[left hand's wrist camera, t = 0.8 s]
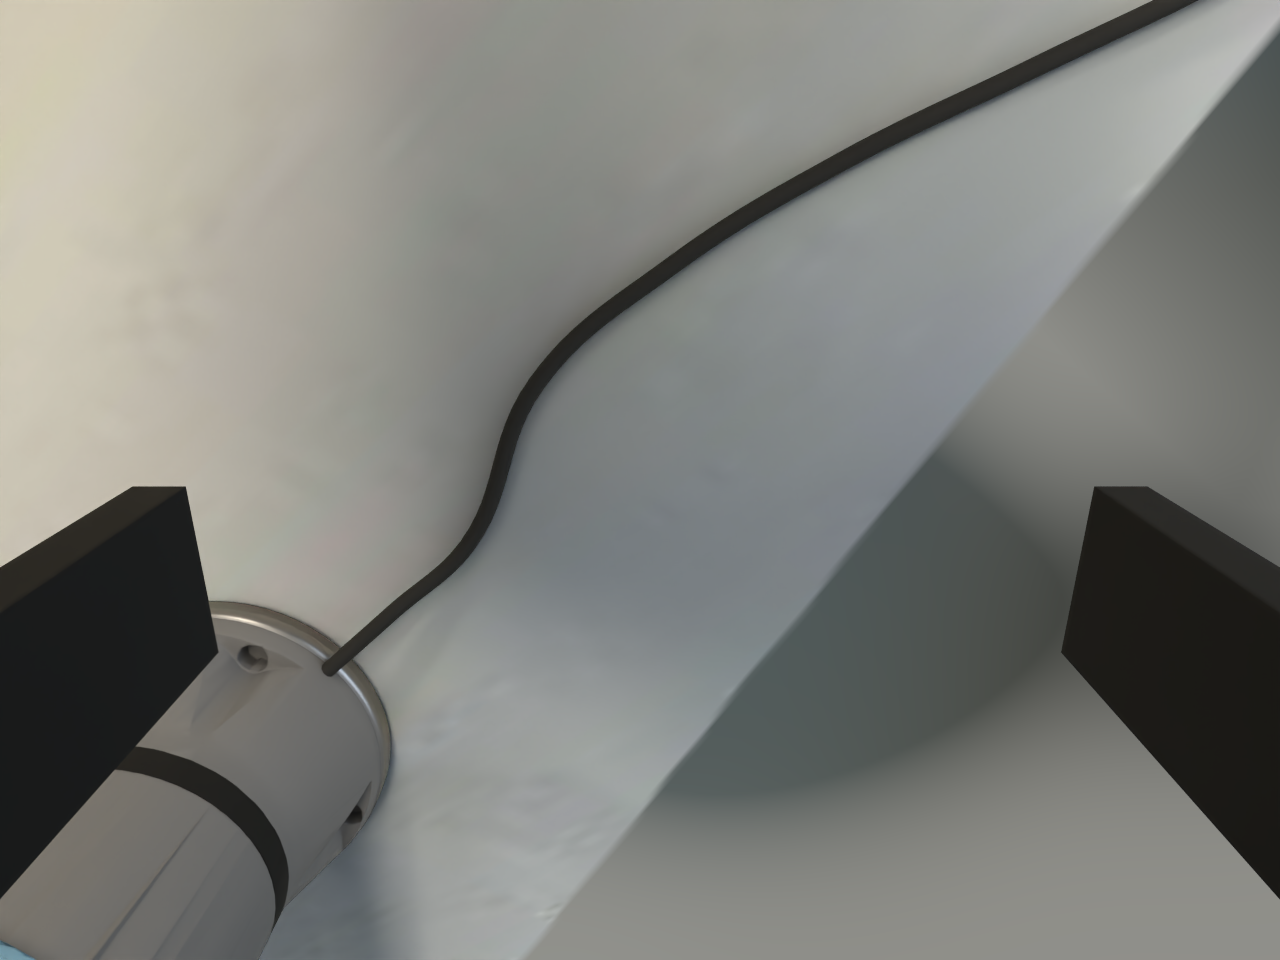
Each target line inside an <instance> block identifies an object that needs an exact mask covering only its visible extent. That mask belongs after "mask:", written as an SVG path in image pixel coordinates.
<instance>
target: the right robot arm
mask: <svg viewBox="0 0 1280 960" xmlns="http://www.w3.org/2000/svg"><path fill="white" fill-rule="evenodd" d="M1196 1H1198V0H1153V1H1151V2H1149V3H1147V4H1145V5H1142V6H1140V7H1138V8H1136V9H1134V10H1132V11H1130V12H1128V13H1126V14H1123V15H1121V16H1119V17H1117V18H1115V19H1113V20H1111V21H1108V22H1106V23H1104V24H1102V25H1100V26H1098V27H1096V28H1094V29H1091V30H1089V31H1087V32H1085V33H1083V34H1081V35H1079V36H1077V37H1074V38H1072V39H1070V40H1068V41H1066V42H1064V43H1062V44H1060V45H1058V46H1056V47H1053V48H1051V49H1049V50H1047V51H1045V52H1043V53H1041V54H1039V55H1037V56H1035V57H1033V58H1031V59H1029V60H1027V61H1025V62H1023V63H1021V64H1019V65H1016V66H1014V67H1012V68H1010V69H1008V70H1006V71H1004V72H1002V73H1000V74H998V75H996V76H993V77H991V78H989V79H987V80H985V81H983V82H981V83H979V84H976V85H974V86H972V87H970V88H968V89H966V90H964V91H961V92H959V93H957V94H955V95H953V96H951V97H948V98H946V99H944V100H942V101H940V102H938V103H936V104H934V105H931V106H929V107H927V108H925V109H923V110H921V111H919V112H917V113H915V114H913V115H911V116H909V117H906V118H904V119H902V120H900V121H898V122H896V123H894V124H892V125H890V126H888V127H886V128H884V129H882V130H880V131H878V132H877V133H875V134H873V135H871V136H869V137H867V138H865V139H863V140H861V141H859V142H857V143H856V144H854V145H852V146H850V147H848V148H846V149H844V150H843V151H841V152H839V153H837V154H835V155H833V156H832V157H830V158H828V159H826V160H824V161H823V162H821V163H819V164H817V165H815V166H814V167H812V168H810V169H808V170H806V171H804V172H803V173H801V174H799V175H797V176H795V177H794V178H792V179H790V180H788V181H787V182H785V183H783V184H781V185H779V186H778V187H776V188H774V189H772V190H771V191H769V192H767V193H765V194H764V195H762V196H760V197H759V198H757V199H755V200H754V201H752V202H750V203H749V204H747V205H745V206H744V207H742V208H740V209H739V210H737V211H736V212H734V213H732V214H731V215H729V216H728V217H726V218H724V219H723V220H721V221H720V222H718V223H717V224H715V225H714V226H712V227H711V228H709V229H708V230H706V231H705V232H703V233H702V234H700V235H699V236H697V237H696V238H695V239H693V240H692V241H690V242H689V243H687V244H686V245H685V246H683V247H682V248H680V249H679V250H678V251H676V252H675V253H673V254H672V255H671V256H669V257H668V258H667V259H665V260H664V261H662V262H661V263H660V264H658V265H657V266H656V267H654V268H653V269H651V270H650V271H649V272H647V273H646V274H644V275H643V276H642V277H640V278H639V279H637V280H636V281H635V282H633V283H632V284H630V285H629V286H628V287H626V288H625V289H623V290H622V291H621V292H619V293H618V294H616V295H615V296H614V297H612V298H611V299H610V300H608V301H607V302H606V303H604V304H603V305H602V306H600V307H599V308H598V309H597V310H595V311H594V312H593V313H592V314H590V315H589V316H588V317H587V318H586V319H584V320H583V321H582V322H581V323H580V324H579V325H577V326H576V327H575V328H574V329H573V330H572V331H571V332H570V333H569V334H568V335H567V336H566V337H565V338H564V339H563V340H562V341H561V342H560V343H559V344H558V345H557V346H556V347H555V348H554V349H553V350H552V351H551V352H550V354H549V355H548V356H547V357H546V358H545V360H544V361H543V362H542V363H541V364H540V366H539V367H538V368H537V370H536V371H535V372H534V373H533V375H532V376H531V377H530V379H529V380H528V382H527V383H526V385H525V386H524V388H523V389H522V391H521V392H520V394H519V396H518V398H517V400H516V402H515V403H514V405H513V407H512V409H511V412H510V414H509V416H508V419H507V421H506V423H505V426H504V429H503V432H502V435H501V438H500V441H499V444H498V448H497V451H496V455H495V459H494V463H493V466H492V470H491V474H490V478H489V481H488V484H487V488H486V491H485V494H484V497H483V500H482V503H481V505H480V507H479V510H478V512H477V514H476V516H475V518H474V520H473V522H472V524H471V526H470V528H469V529H468V531H467V532H466V534H465V535H464V537H463V538H462V540H461V541H460V543H459V544H458V545H457V547H456V548H455V549H454V550H453V551H452V552H451V554H450V555H449V556H448V557H447V558H446V559H445V560H444V561H443V562H442V563H441V564H440V565H438V566H437V567H436V568H435V569H434V570H433V571H431V572H430V573H429V574H428V575H426V576H425V577H424V578H423V579H421V580H420V581H419V582H417V583H416V584H415V585H413V586H412V587H411V588H410V589H408V590H407V591H406V592H404V593H403V594H402V595H401V596H399V597H398V598H397V599H396V600H395V601H393V602H392V603H391V604H390V605H389V606H388V607H387V608H385V609H384V610H383V611H382V612H381V613H380V614H379V615H378V616H377V617H375V618H374V619H373V620H372V621H371V622H370V623H369V624H368V625H366V626H365V627H364V628H363V629H362V630H361V631H360V632H359V633H357V634H356V635H355V636H354V637H353V638H352V639H351V640H350V641H348V642H347V643H346V644H345V645H344V646H343V647H342V648H341V649H340V648H339V647H338V646H337V645H335V644H334V643H333V642H331V641H330V640H329V639H327V638H326V637H325V636H323V635H322V634H320V633H318V632H317V631H315V630H314V629H312V628H310V627H309V626H307V625H305V624H303V623H301V622H299V621H297V620H295V619H292V618H290V617H288V616H285V615H283V614H280V613H277V612H274V611H271V610H268V609H265V608H260V607H256V606H252V605H247V604H240V603H232V602H209V606H210V611H211V616H212V621H213V626H214V631H215V636H216V641H217V646H218V651H219V653H218V654H217V655H216V656H215V657H214V658H213V659H212V661H211V662H210V663H209V664H208V665H207V666H206V667H205V668H204V670H203V671H202V672H201V673H200V674H199V675H198V676H197V678H196V679H195V680H194V681H193V682H192V683H191V684H190V685H189V687H188V688H187V689H186V690H185V691H184V692H183V693H182V694H181V696H180V697H179V698H178V699H177V700H176V701H175V702H174V703H173V705H172V706H171V707H170V708H169V709H168V710H167V711H166V713H165V714H164V715H163V716H162V717H161V718H160V719H159V720H158V722H157V723H156V724H155V725H154V726H153V727H152V728H151V729H150V731H149V732H148V733H147V734H146V735H145V736H144V737H143V739H142V740H141V741H140V742H139V743H138V744H137V745H136V746H135V748H134V749H133V750H132V751H131V752H130V753H129V754H128V755H127V757H126V758H125V759H124V760H123V761H122V762H121V763H120V764H119V766H118V767H117V768H116V769H115V770H114V771H113V772H112V774H111V775H110V776H109V777H108V778H107V779H106V780H105V781H104V783H103V784H102V785H101V786H100V787H99V788H98V789H97V790H96V792H95V793H94V794H93V795H92V796H91V797H90V798H89V800H88V801H87V802H86V803H85V804H84V805H83V806H82V807H81V809H80V810H79V811H78V812H77V813H76V814H75V815H74V816H73V818H72V819H71V820H70V821H69V822H68V823H67V824H66V825H65V827H64V828H63V829H62V830H61V831H60V832H59V833H58V835H57V836H56V837H55V838H54V839H53V840H52V841H51V842H50V844H49V845H48V846H47V847H46V848H45V849H44V850H43V851H42V853H41V854H40V855H39V856H38V857H37V858H36V859H35V861H34V862H33V863H32V864H31V865H30V866H29V867H28V868H27V870H26V871H25V872H24V873H23V874H22V875H21V876H20V877H19V879H18V880H17V881H16V882H15V883H14V884H13V885H12V886H11V888H10V889H9V890H8V891H7V892H6V893H5V894H4V896H3V897H2V898H1V899H0V960H258V959H259V957H260V955H261V953H262V951H263V949H264V947H265V945H266V943H267V941H268V939H269V936H270V934H271V932H272V930H273V928H274V926H275V924H276V922H277V920H278V918H279V916H280V914H281V912H282V911H283V909H284V907H285V906H286V905H287V904H288V903H289V902H290V901H291V900H292V899H293V898H294V897H295V896H296V895H297V894H299V893H300V892H301V891H302V890H303V889H304V888H305V887H306V886H307V885H308V884H309V883H310V882H311V881H312V880H313V879H314V878H315V877H316V876H317V875H318V874H319V873H320V872H321V871H322V870H323V869H324V868H325V867H326V866H327V865H328V864H329V863H330V862H331V861H332V860H333V859H334V858H335V857H337V856H338V855H339V854H340V853H341V852H342V851H343V850H344V849H345V848H346V847H347V846H348V844H349V843H350V842H351V841H352V840H353V839H354V837H355V836H356V835H357V834H358V832H359V831H360V830H361V828H362V827H363V826H364V824H365V823H366V821H367V820H368V818H369V817H370V815H371V813H372V811H373V808H374V806H375V804H376V802H377V800H378V797H379V795H380V793H381V790H382V788H383V785H384V782H385V780H386V777H387V773H388V768H389V764H390V753H391V748H390V734H389V727H388V723H387V719H386V715H385V713H384V710H383V707H382V705H381V702H380V700H379V698H378V696H377V694H376V692H375V690H374V688H373V687H372V685H371V684H370V682H369V681H368V679H367V678H366V676H365V675H364V674H363V672H362V671H361V670H360V668H359V667H358V666H357V665H356V664H355V663H354V662H353V661H352V660H351V659H352V658H354V657H355V656H356V655H357V654H358V653H359V652H360V651H361V650H363V649H364V648H365V647H366V646H367V645H368V644H369V643H370V642H372V641H373V640H374V639H375V638H376V637H377V636H378V635H379V634H381V633H382V632H383V631H384V630H385V629H386V628H387V627H388V626H390V625H391V624H392V623H393V622H394V621H395V620H396V619H397V618H399V617H400V616H401V615H402V614H403V613H404V612H405V611H407V610H408V609H409V608H410V607H412V606H413V605H414V604H415V603H417V602H418V601H419V600H420V599H422V598H423V597H424V596H426V595H427V594H428V593H430V592H431V591H432V590H433V589H435V588H436V587H437V586H439V585H440V584H441V583H442V582H443V581H445V580H446V579H447V578H448V577H449V576H451V575H452V574H453V573H454V572H455V571H456V570H457V569H458V568H459V567H460V566H461V565H462V564H463V563H464V561H465V560H466V559H467V558H468V557H469V556H470V554H471V553H472V552H473V550H474V549H475V548H476V546H477V545H478V543H479V542H480V540H481V538H482V537H483V535H484V534H485V532H486V530H487V528H488V526H489V524H490V523H491V520H492V518H493V516H494V514H495V511H496V509H497V506H498V504H499V501H500V498H501V495H502V492H503V489H504V485H505V482H506V478H507V475H508V471H509V467H510V464H511V460H512V456H513V453H514V450H515V446H516V443H517V440H518V437H519V435H520V432H521V429H522V427H523V424H524V422H525V420H526V417H527V415H528V413H529V412H530V410H531V408H532V406H533V404H534V402H535V401H536V399H537V398H538V396H539V395H540V393H541V392H542V390H543V389H544V387H545V386H546V385H547V383H548V382H549V381H550V379H551V378H552V377H553V376H554V374H555V373H556V372H557V371H558V370H559V368H560V367H561V366H562V365H563V364H564V363H565V362H566V361H567V359H568V358H569V357H570V356H571V355H572V354H573V353H574V352H575V351H576V350H577V349H578V348H579V347H580V346H581V345H582V344H583V343H585V342H586V341H587V340H588V339H589V338H590V337H591V336H592V335H594V334H595V333H596V332H597V331H598V330H600V329H601V328H602V327H603V326H604V325H606V324H607V323H608V322H610V321H611V320H612V319H614V318H615V317H616V316H618V315H619V314H620V313H622V312H623V311H624V310H626V309H627V308H629V307H630V306H631V305H633V304H634V303H636V302H637V301H638V300H640V299H641V298H643V297H644V296H645V295H647V294H648V293H650V292H651V291H652V290H654V289H655V288H657V287H658V286H660V285H661V284H662V283H664V282H665V281H667V280H668V279H669V278H671V277H672V276H673V275H675V274H676V273H678V272H679V271H680V270H682V269H683V268H685V267H686V266H687V265H689V264H690V263H692V262H693V261H694V260H696V259H697V258H699V257H700V256H702V255H703V254H704V253H706V252H707V251H709V250H710V249H712V248H713V247H715V246H716V245H718V244H719V243H721V242H722V241H724V240H725V239H727V238H728V237H730V236H732V235H733V234H735V233H736V232H738V231H739V230H741V229H743V228H744V227H746V226H748V225H749V224H751V223H752V222H754V221H756V220H757V219H759V218H761V217H763V216H764V215H766V214H768V213H769V212H771V211H773V210H775V209H776V208H778V207H780V206H782V205H783V204H785V203H787V202H789V201H790V200H792V199H794V198H796V197H798V196H799V195H801V194H803V193H805V192H807V191H808V190H810V189H812V188H814V187H816V186H818V185H819V184H821V183H823V182H825V181H827V180H828V179H830V178H832V177H834V176H836V175H838V174H839V173H841V172H843V171H845V170H847V169H849V168H851V167H852V166H854V165H856V164H858V163H860V162H862V161H864V160H865V159H867V158H869V157H871V156H873V155H875V154H877V153H879V152H881V151H883V150H885V149H887V148H889V147H891V146H893V145H895V144H897V143H899V142H901V141H903V140H905V139H907V138H909V137H911V136H913V135H915V134H917V133H919V132H921V131H923V130H926V129H928V128H930V127H932V126H934V125H936V124H938V123H940V122H943V121H945V120H947V119H949V118H951V117H953V116H955V115H958V114H960V113H962V112H964V111H966V110H968V109H971V108H973V107H975V106H977V105H979V104H981V103H984V102H986V101H988V100H990V99H992V98H994V97H996V96H999V95H1001V94H1003V93H1005V92H1007V91H1009V90H1011V89H1013V88H1015V87H1018V86H1020V85H1022V84H1024V83H1026V82H1028V81H1030V80H1032V79H1034V78H1036V77H1038V76H1040V75H1042V74H1045V73H1047V72H1049V71H1051V70H1053V69H1055V68H1057V67H1059V66H1061V65H1063V64H1065V63H1068V62H1070V61H1072V60H1074V59H1076V58H1078V57H1080V56H1082V55H1084V54H1087V53H1089V52H1091V51H1093V50H1095V49H1097V48H1099V47H1102V46H1104V45H1106V44H1108V43H1110V42H1112V41H1115V40H1117V39H1119V38H1121V37H1123V36H1125V35H1127V34H1130V33H1132V32H1134V31H1136V30H1138V29H1140V28H1142V27H1145V26H1147V25H1149V24H1151V23H1153V22H1155V21H1157V20H1159V19H1161V18H1163V17H1165V16H1168V15H1170V14H1172V13H1174V12H1176V11H1178V10H1180V9H1182V8H1184V7H1186V6H1188V5H1190V4H1192V3H1194V2H1196Z"/></svg>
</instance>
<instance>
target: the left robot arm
mask: <svg viewBox="0 0 1280 960" xmlns="http://www.w3.org/2000/svg"><path fill="white" fill-rule="evenodd" d="M218 653H219V651H218V646H217V641H216V636H215V631H214V626H213V621H212V616H211V611H210V606H209V601H208V596H207V591H206V586H205V581H204V576H203V571H202V566H201V561H200V556H199V551H198V546H197V541H196V536H195V531H194V526H193V521H192V516H191V511H190V506H189V501H188V496H187V491H186V487H131V488H130V489H128V490H126V491H125V492H123V493H121V494H120V495H118V496H116V497H115V498H113V499H112V500H110V501H108V502H107V503H105V504H103V505H102V506H100V507H98V508H97V509H95V510H94V511H92V512H90V513H89V514H87V515H85V516H84V517H82V518H80V519H79V520H77V521H76V522H74V523H72V524H71V525H69V526H67V527H66V528H64V529H62V530H61V531H59V532H57V533H56V534H54V535H53V536H51V537H49V538H48V539H46V540H44V541H43V542H41V543H39V544H38V545H36V546H35V547H33V548H31V549H30V550H28V551H26V552H25V553H23V554H21V555H20V556H18V557H17V558H15V559H13V560H12V561H10V562H8V563H7V564H5V565H3V566H2V567H0V899H1V898H2V897H3V896H4V894H5V893H6V892H7V891H8V890H9V889H10V888H11V886H12V885H13V884H14V883H15V882H16V881H17V880H18V879H19V877H20V876H21V875H22V874H23V873H24V872H25V871H26V870H27V868H28V867H29V866H30V865H31V864H32V863H33V862H34V861H35V859H36V858H37V857H38V856H39V855H40V854H41V853H42V851H43V850H44V849H45V848H46V847H47V846H48V845H49V844H50V842H51V841H52V840H53V839H54V838H55V837H56V836H57V835H58V833H59V832H60V831H61V830H62V829H63V828H64V827H65V825H66V824H67V823H68V822H69V821H70V820H71V819H72V818H73V816H74V815H75V814H76V813H77V812H78V811H79V810H80V809H81V807H82V806H83V805H84V804H85V803H86V802H87V801H88V800H89V798H90V797H91V796H92V795H93V794H94V793H95V792H96V790H97V789H98V788H99V787H100V786H101V785H102V784H103V783H104V781H105V780H106V779H107V778H108V777H109V776H110V775H111V774H112V772H113V771H114V770H115V769H116V768H117V767H118V766H119V764H120V763H121V762H122V761H123V760H124V759H125V758H126V757H127V755H128V754H129V753H130V752H131V751H132V750H133V749H134V748H135V746H136V745H137V744H138V743H139V742H140V741H141V740H142V739H143V737H144V736H145V735H146V734H147V733H148V732H149V731H150V729H151V728H152V727H153V726H154V725H155V724H156V723H157V722H158V720H159V719H160V718H161V717H162V716H163V715H164V714H165V713H166V711H167V710H168V709H169V708H170V707H171V706H172V705H173V703H174V702H175V701H176V700H177V699H178V698H179V697H180V696H181V694H182V693H183V692H184V691H185V690H186V689H187V688H188V687H189V685H190V684H191V683H192V682H193V681H194V680H195V679H196V678H197V676H198V675H199V674H200V673H201V672H202V671H203V670H204V668H205V667H206V666H207V665H208V664H209V663H210V662H211V661H212V659H213V658H214V657H215V656H216V655H217V654H218ZM1061 653H1062V654H1063V655H1064V656H1065V657H1066V658H1067V659H1068V661H1069V662H1070V663H1071V664H1072V665H1073V666H1074V667H1075V668H1076V670H1077V671H1078V672H1079V673H1080V674H1081V675H1082V676H1083V678H1084V679H1085V680H1086V681H1087V682H1088V683H1089V684H1090V685H1091V687H1092V688H1093V689H1094V690H1095V691H1096V692H1097V693H1098V694H1099V696H1100V697H1101V698H1102V699H1103V700H1104V701H1105V702H1106V703H1107V705H1108V706H1109V707H1110V708H1111V709H1112V710H1113V711H1114V713H1115V714H1116V715H1117V716H1118V717H1119V718H1120V719H1121V720H1122V722H1123V723H1124V724H1125V725H1126V726H1127V727H1128V728H1129V729H1130V731H1131V732H1132V733H1133V734H1134V735H1135V736H1136V737H1137V739H1138V740H1139V741H1140V742H1141V743H1142V744H1143V745H1144V746H1145V748H1146V749H1147V750H1148V751H1149V752H1150V753H1151V754H1152V755H1153V757H1154V758H1155V759H1156V760H1157V761H1158V762H1159V763H1160V764H1161V766H1162V767H1163V768H1164V769H1165V770H1166V771H1167V772H1168V774H1169V775H1170V776H1171V777H1172V778H1173V779H1174V780H1175V781H1176V783H1177V784H1178V785H1179V786H1180V787H1181V788H1182V789H1183V790H1184V792H1185V793H1186V794H1187V795H1188V796H1189V797H1190V798H1191V799H1192V801H1193V802H1194V803H1195V804H1196V805H1197V806H1198V807H1199V809H1200V810H1201V811H1202V812H1203V813H1204V814H1205V815H1206V816H1207V818H1208V819H1209V820H1210V821H1211V822H1212V823H1213V824H1214V825H1215V827H1216V828H1217V829H1218V830H1219V831H1220V832H1221V833H1222V834H1223V836H1224V837H1225V838H1226V839H1227V840H1228V841H1229V842H1230V844H1231V845H1232V846H1233V847H1234V848H1235V849H1236V850H1237V851H1238V853H1239V854H1240V855H1241V856H1242V857H1243V858H1244V859H1245V861H1246V862H1247V863H1248V864H1249V865H1250V866H1251V867H1252V868H1253V869H1254V871H1255V872H1256V873H1257V874H1258V875H1259V876H1260V877H1261V879H1262V880H1263V881H1264V882H1265V883H1266V884H1267V885H1268V886H1269V888H1270V889H1271V890H1272V891H1273V892H1274V893H1275V894H1276V896H1277V897H1278V898H1279V899H1280V567H1278V566H1277V565H1275V564H1273V563H1272V562H1270V561H1268V560H1267V559H1265V558H1263V557H1262V556H1260V555H1258V554H1257V553H1255V552H1254V551H1252V550H1250V549H1249V548H1247V547H1245V546H1244V545H1242V544H1241V543H1239V542H1237V541H1235V540H1234V539H1232V538H1231V537H1229V536H1227V535H1226V534H1224V533H1222V532H1221V531H1219V530H1218V529H1216V528H1214V527H1213V526H1211V525H1209V524H1208V523H1206V522H1204V521H1203V520H1201V519H1199V518H1198V517H1196V516H1195V515H1193V514H1191V513H1190V512H1188V511H1186V510H1185V509H1183V508H1181V507H1180V506H1178V505H1177V504H1175V503H1173V502H1172V501H1170V500H1168V499H1167V498H1165V497H1164V496H1162V495H1160V494H1159V493H1157V492H1155V491H1154V490H1152V489H1150V488H1149V487H1094V491H1093V496H1092V501H1091V506H1090V511H1089V516H1088V521H1087V526H1086V531H1085V536H1084V541H1083V546H1082V551H1081V556H1080V561H1079V566H1078V571H1077V576H1076V581H1075V586H1074V591H1073V596H1072V601H1071V606H1070V611H1069V616H1068V621H1067V626H1066V631H1065V636H1064V641H1063V646H1062V651H1061Z"/></svg>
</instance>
